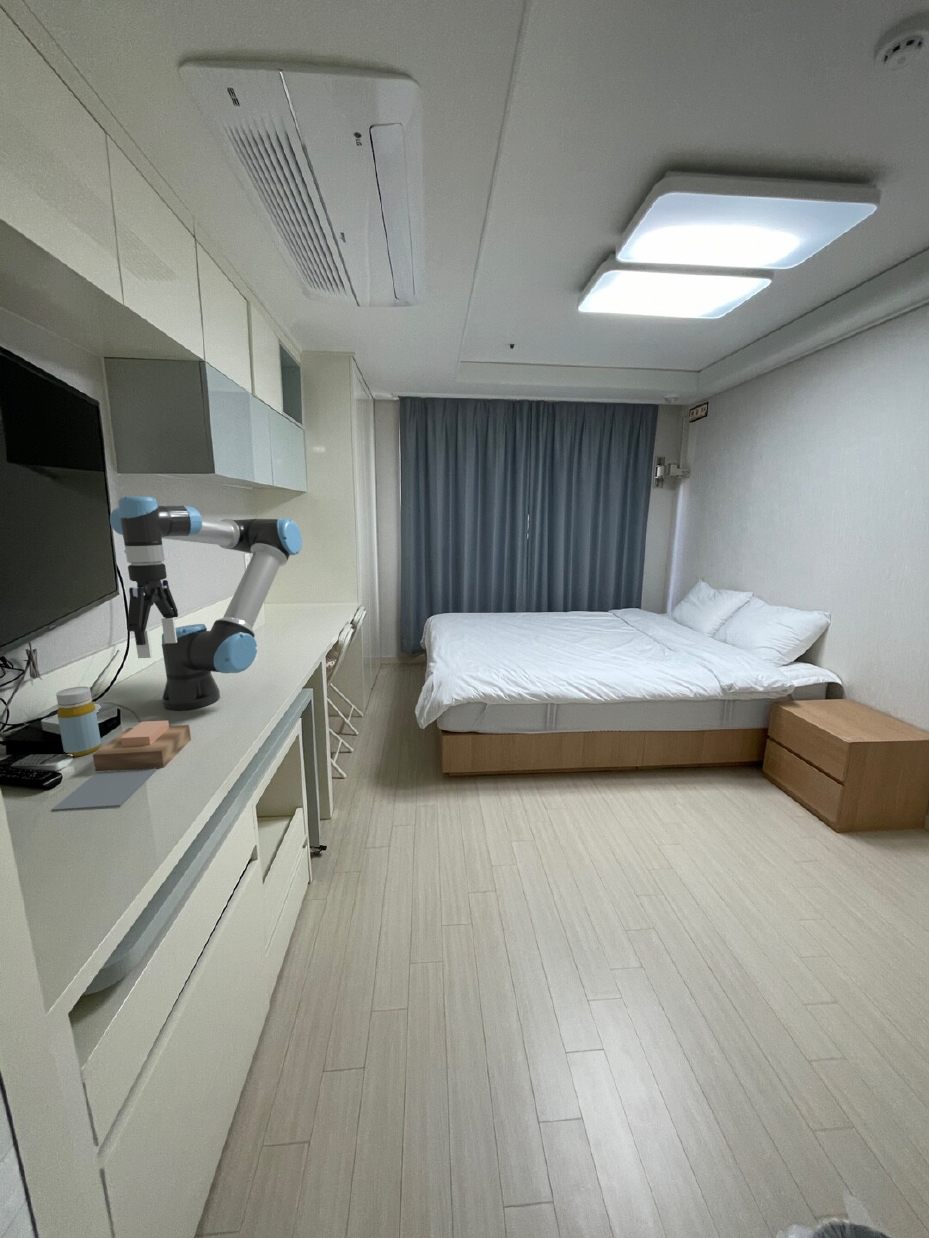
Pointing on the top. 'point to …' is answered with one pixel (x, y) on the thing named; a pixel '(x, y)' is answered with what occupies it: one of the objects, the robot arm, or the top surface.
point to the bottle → (78, 721)
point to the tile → (144, 733)
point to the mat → (105, 790)
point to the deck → (142, 751)
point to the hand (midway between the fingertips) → (158, 649)
